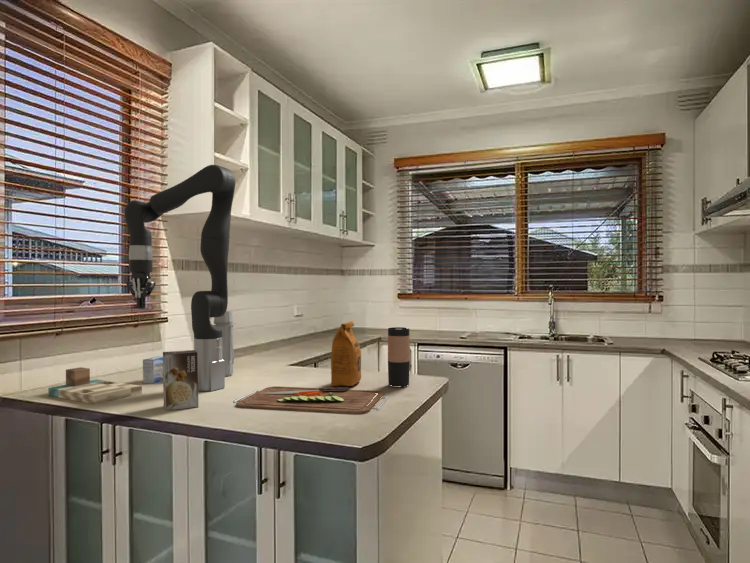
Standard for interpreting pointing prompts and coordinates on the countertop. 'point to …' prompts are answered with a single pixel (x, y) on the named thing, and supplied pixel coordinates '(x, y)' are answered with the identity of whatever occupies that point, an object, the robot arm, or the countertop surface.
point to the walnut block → (77, 376)
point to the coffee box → (180, 379)
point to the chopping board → (312, 400)
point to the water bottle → (226, 340)
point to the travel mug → (398, 356)
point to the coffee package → (345, 357)
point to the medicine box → (153, 369)
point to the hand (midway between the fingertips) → (140, 308)
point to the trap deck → (95, 391)
